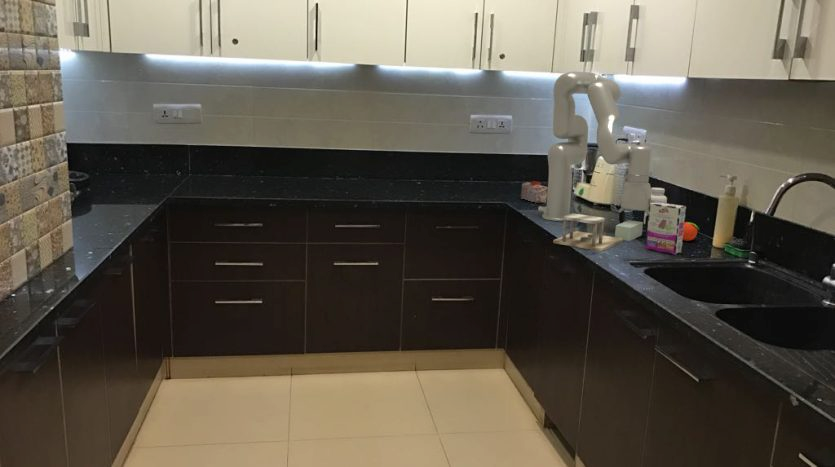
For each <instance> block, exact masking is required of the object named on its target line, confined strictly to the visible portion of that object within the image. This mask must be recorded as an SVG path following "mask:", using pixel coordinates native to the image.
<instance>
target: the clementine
mask: <svg viewBox="0 0 835 467" xmlns="http://www.w3.org/2000/svg"><path fill="white" fill-rule="evenodd" d="M698 230H700V228H699V227H698V225H696V223H693V222H690V221H686V222H684V231H683V241H685V242H688V241H689V242H690V241H692V240H694V239H695V238H696V237H697V234H698Z"/></svg>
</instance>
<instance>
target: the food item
mask: <svg viewBox="0 0 835 467" xmlns="http://www.w3.org/2000/svg"><path fill="white" fill-rule="evenodd" d="M541 184H542V183H541V182H540V181H536V180H533V181H531V182H528V181H527V182H524V183H523V182H522V184H521V192H520V199H525V200H528V201H531V202H530V203H532V202H535V203H534V204H536V203H543V204H547V195H548V186H544V185H541ZM525 200H524V201H525Z"/></svg>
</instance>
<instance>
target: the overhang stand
mask: <svg viewBox="0 0 835 467" xmlns="http://www.w3.org/2000/svg"><path fill="white" fill-rule="evenodd" d="M563 219H564V221H563V226H562V236H561V237H559V238H555V239H553V241H552V243H553V244H555V245H556V244H558V245H564V246H567V247H574V248H581V249H585V250H586V249H587V250H592V251H596V252H603V250H604V251H606V250H607V249H609V248H612V247H614V246H616V245H617V244H620V243H622V242H624V240H623V239H622V238H616V237H615V236H609V235H604V227H605V226H604V225H605V220H606V218H605V217H602V216H595V215H594V216H593V215H586V214H581V213H570V214H569V215H566V216H563ZM567 220H570V224H569V226H570V227H569V233H568V234H567V229H568V228H567V227H568V221H567ZM575 222H580V223H585V224H592V226H593V227H592V233H591V232H590V233H589V232H585V231H584V232H583V231H577V230H576V231H574V227H575ZM598 224H599V232H598V233H599V234H598V233H597V228H598ZM605 249H606V250H605Z"/></svg>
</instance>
